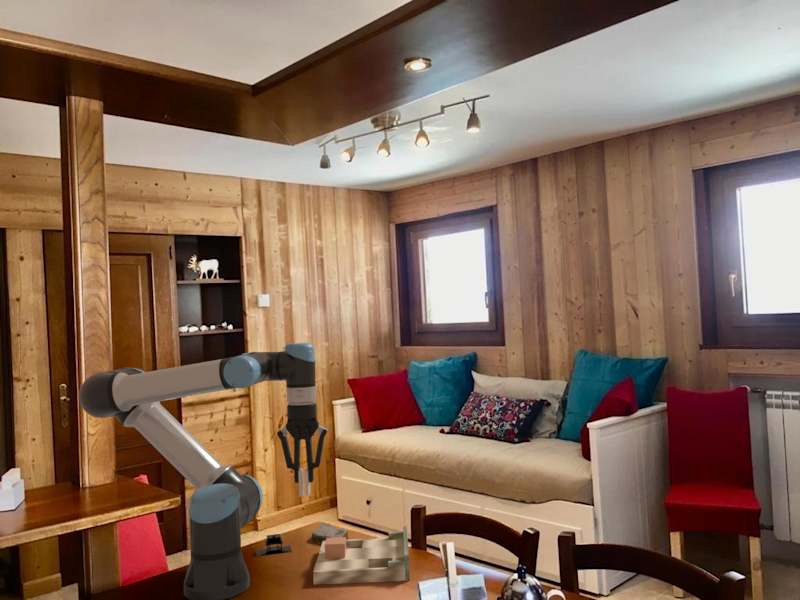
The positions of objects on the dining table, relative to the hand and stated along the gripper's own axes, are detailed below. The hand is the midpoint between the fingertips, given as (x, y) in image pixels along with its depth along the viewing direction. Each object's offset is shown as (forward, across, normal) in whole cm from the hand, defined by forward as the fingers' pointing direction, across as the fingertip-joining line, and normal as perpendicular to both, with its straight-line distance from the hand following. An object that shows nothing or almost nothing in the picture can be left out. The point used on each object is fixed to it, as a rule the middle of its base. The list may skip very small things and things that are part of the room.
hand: (304, 495), depth 168 cm
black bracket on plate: (+19, -11, +13) cm, 26 cm away
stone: (+19, +4, +21) cm, 29 cm away
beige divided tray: (+18, +14, 0) cm, 23 cm away
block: (+15, +8, 0) cm, 17 cm away
